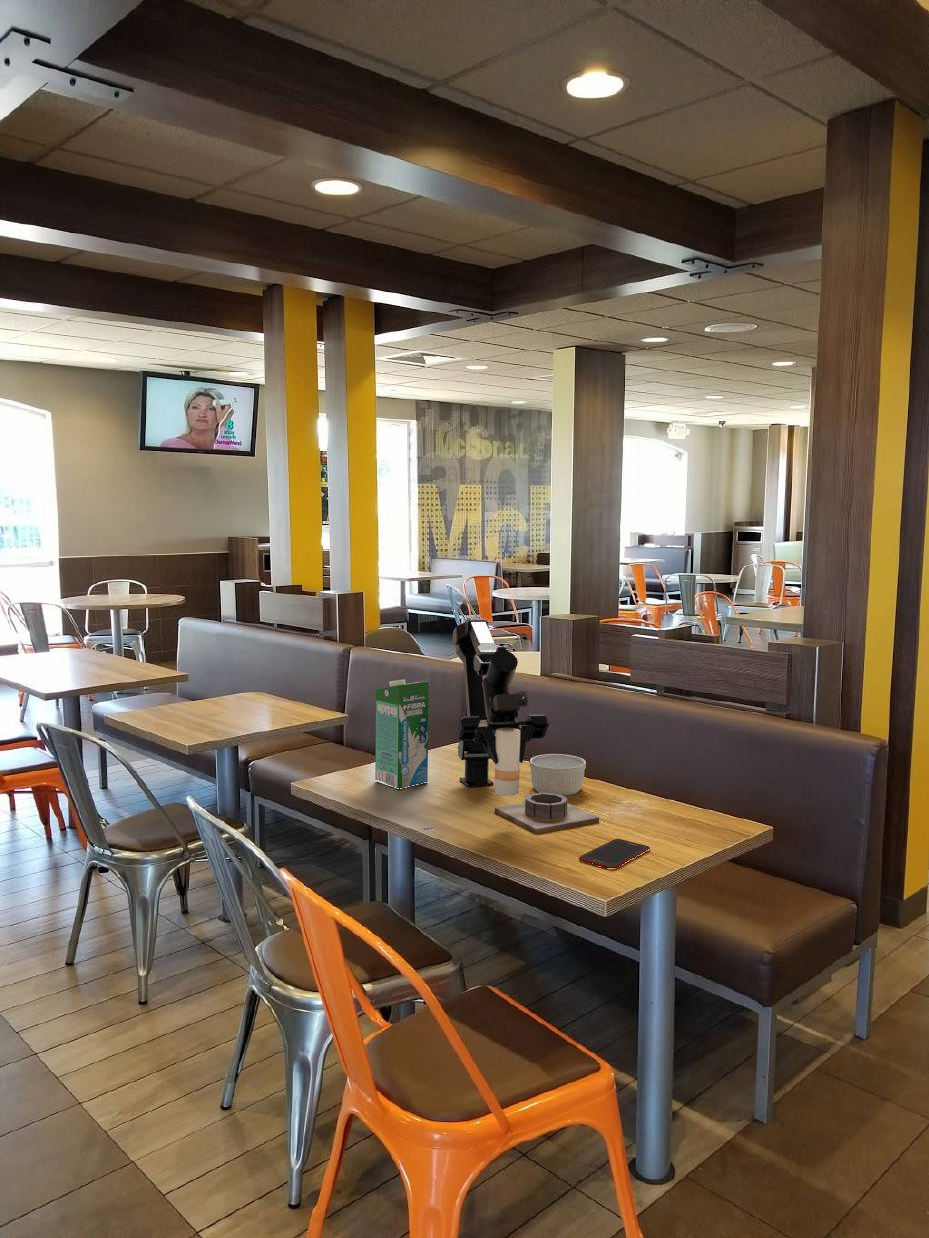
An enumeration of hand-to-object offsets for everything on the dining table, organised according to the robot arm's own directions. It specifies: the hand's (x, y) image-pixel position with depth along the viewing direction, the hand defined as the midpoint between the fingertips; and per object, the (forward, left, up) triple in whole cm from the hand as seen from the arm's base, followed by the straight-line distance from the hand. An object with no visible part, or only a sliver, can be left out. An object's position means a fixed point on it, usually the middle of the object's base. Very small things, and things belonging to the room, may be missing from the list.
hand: (509, 762), depth 193 cm
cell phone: (+22, +12, -14) cm, 29 cm away
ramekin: (-21, +22, -14) cm, 33 cm away
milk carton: (-38, -11, -14) cm, 42 cm away
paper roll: (-1, 0, -7) cm, 7 cm away
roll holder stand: (-3, +10, -13) cm, 17 cm away
